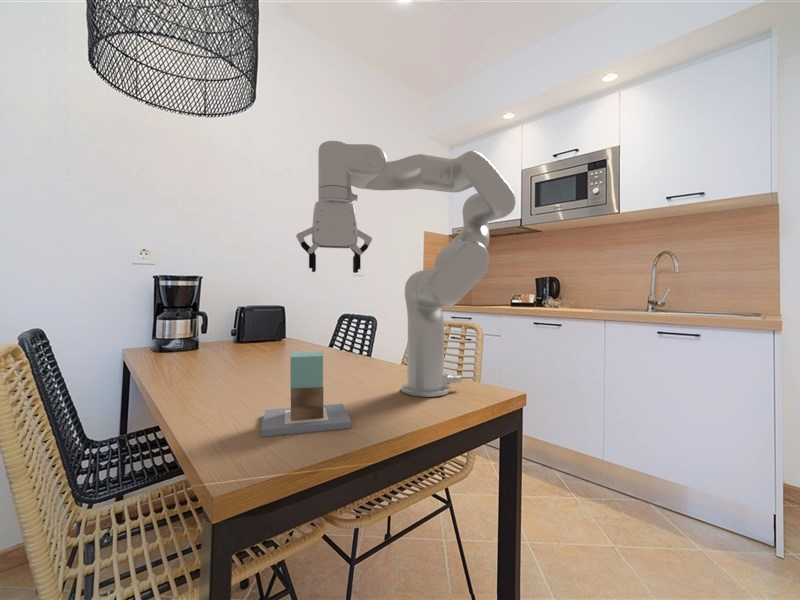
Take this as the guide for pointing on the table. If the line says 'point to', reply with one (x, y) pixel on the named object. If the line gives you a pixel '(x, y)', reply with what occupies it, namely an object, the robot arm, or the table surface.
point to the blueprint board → (304, 421)
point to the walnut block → (306, 403)
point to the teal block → (306, 369)
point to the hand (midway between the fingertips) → (334, 272)
